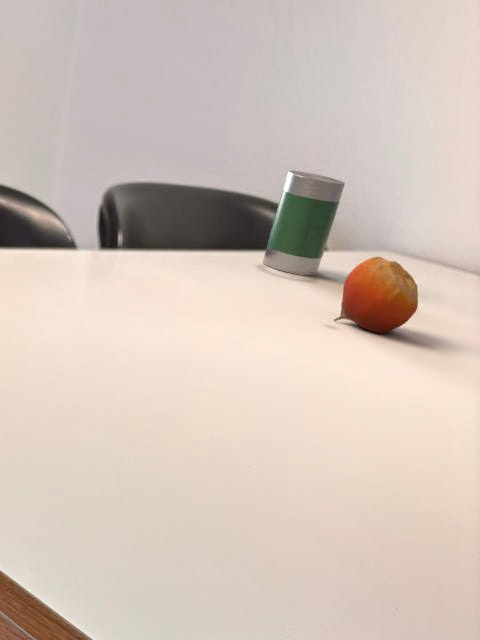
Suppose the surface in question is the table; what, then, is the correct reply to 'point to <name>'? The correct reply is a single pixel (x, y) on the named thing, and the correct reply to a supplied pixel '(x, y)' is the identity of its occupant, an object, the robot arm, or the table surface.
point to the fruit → (379, 295)
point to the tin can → (303, 223)
